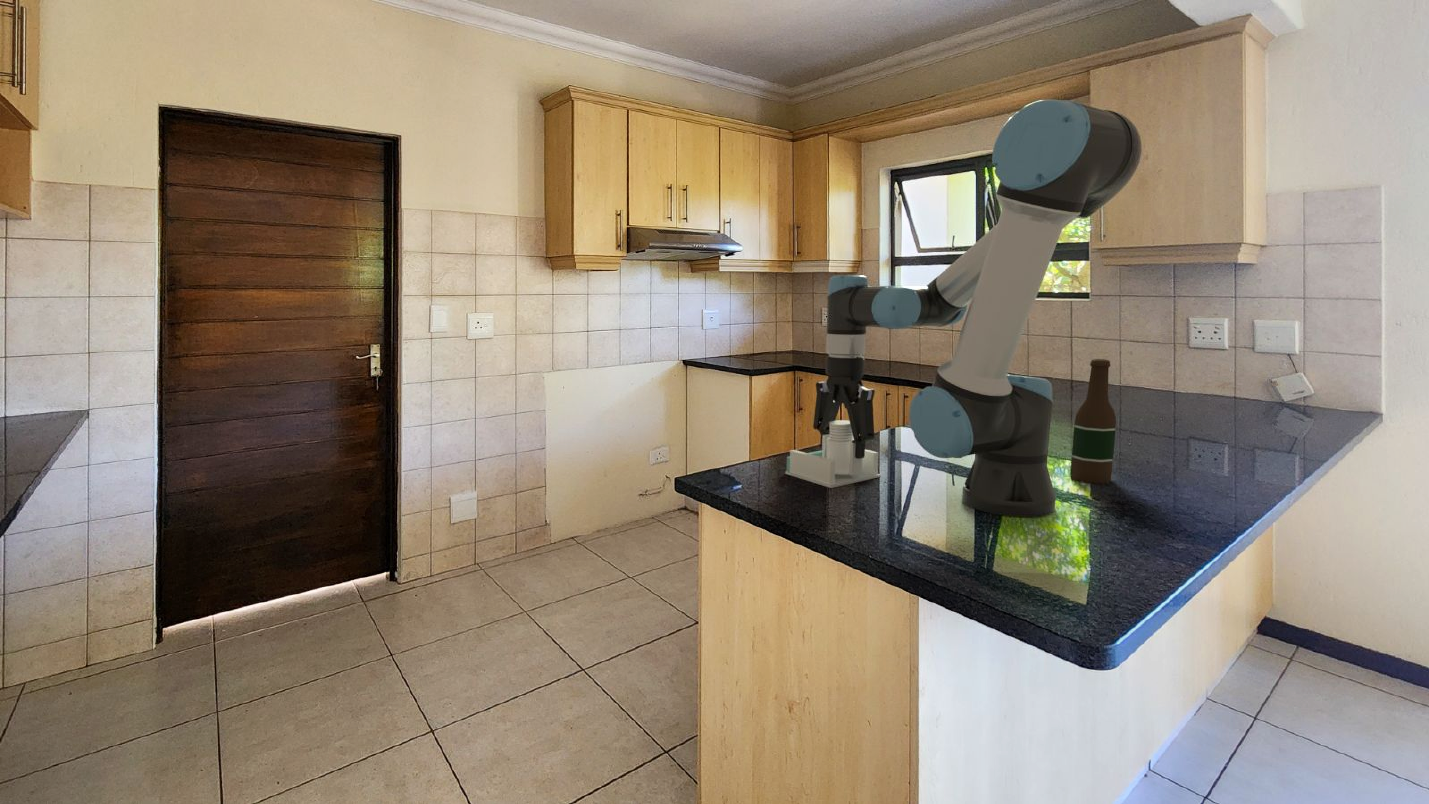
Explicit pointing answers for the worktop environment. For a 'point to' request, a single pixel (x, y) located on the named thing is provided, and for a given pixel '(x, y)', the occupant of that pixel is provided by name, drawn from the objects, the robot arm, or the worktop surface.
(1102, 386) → the beer bottle
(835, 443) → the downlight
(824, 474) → the holder
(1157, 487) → the worktop surface
